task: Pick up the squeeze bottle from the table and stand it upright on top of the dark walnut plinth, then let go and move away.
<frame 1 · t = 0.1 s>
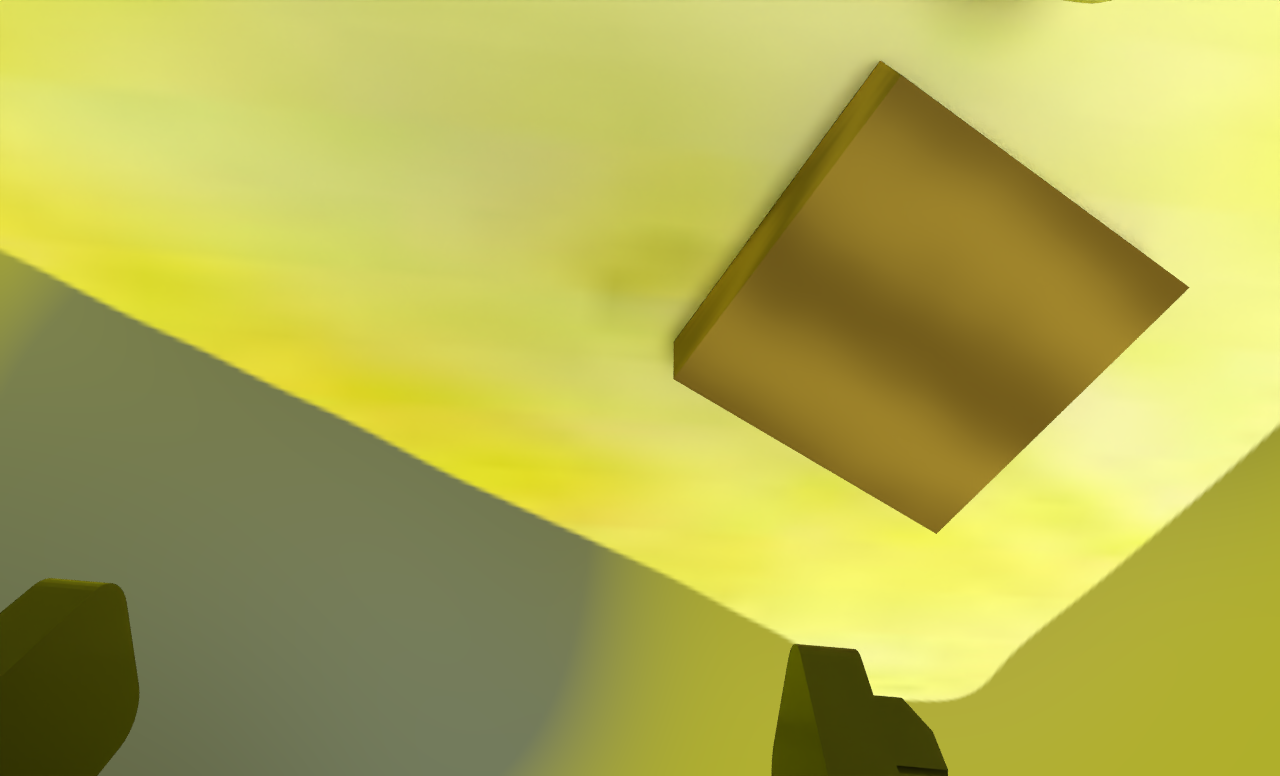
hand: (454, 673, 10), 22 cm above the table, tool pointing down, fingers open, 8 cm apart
walnut plinth: (901, 300, 32), on the table
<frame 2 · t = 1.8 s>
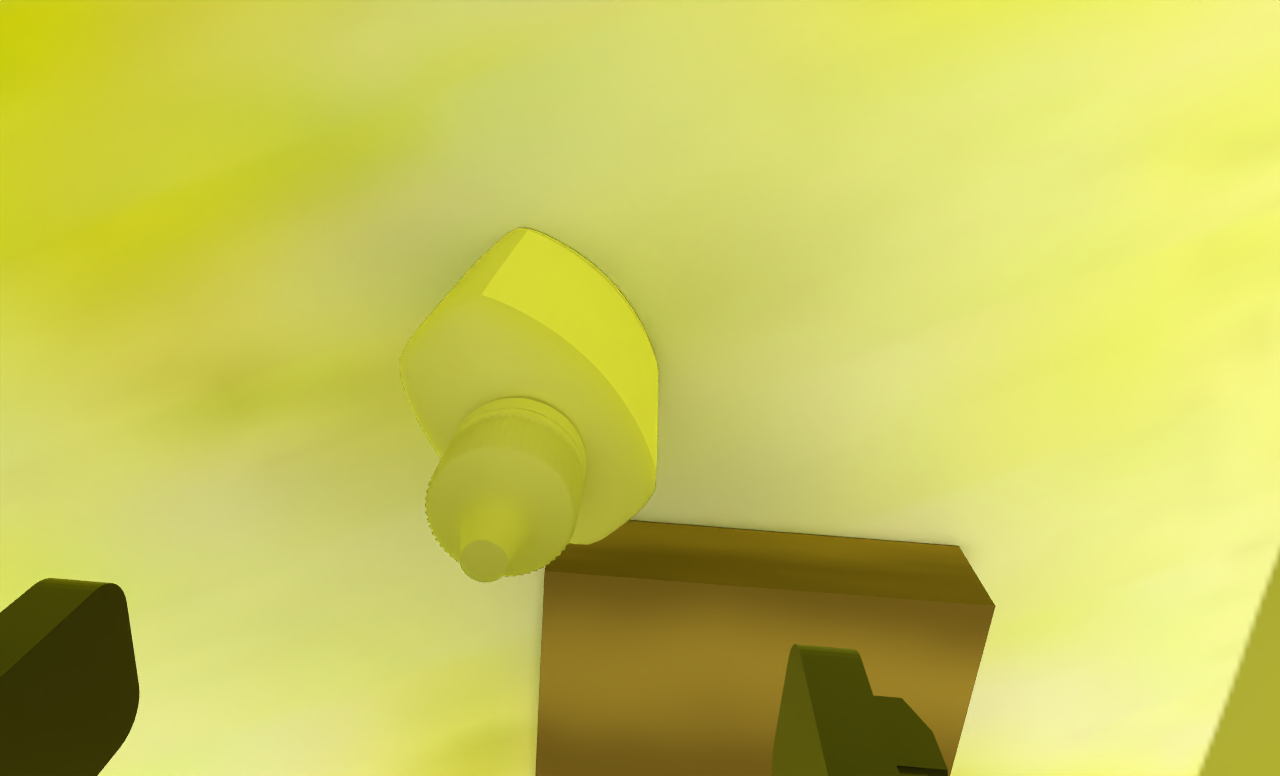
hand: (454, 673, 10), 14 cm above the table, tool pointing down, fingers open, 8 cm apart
walnut plinth: (734, 692, 28), on the table
squeeze bottle: (567, 318, 24), on the table
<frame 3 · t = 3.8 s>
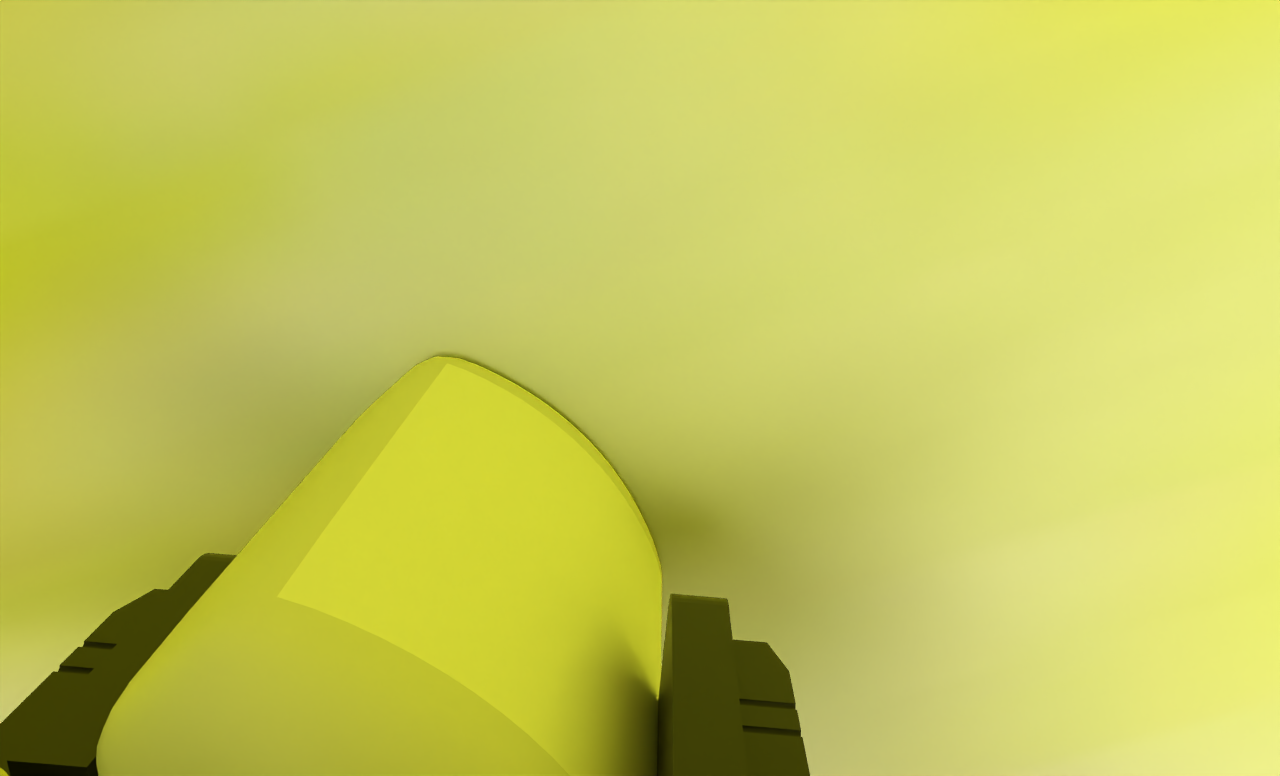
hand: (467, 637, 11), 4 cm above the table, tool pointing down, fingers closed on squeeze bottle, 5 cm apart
squeeze bottle: (518, 489, 15), on the table, touching gripper
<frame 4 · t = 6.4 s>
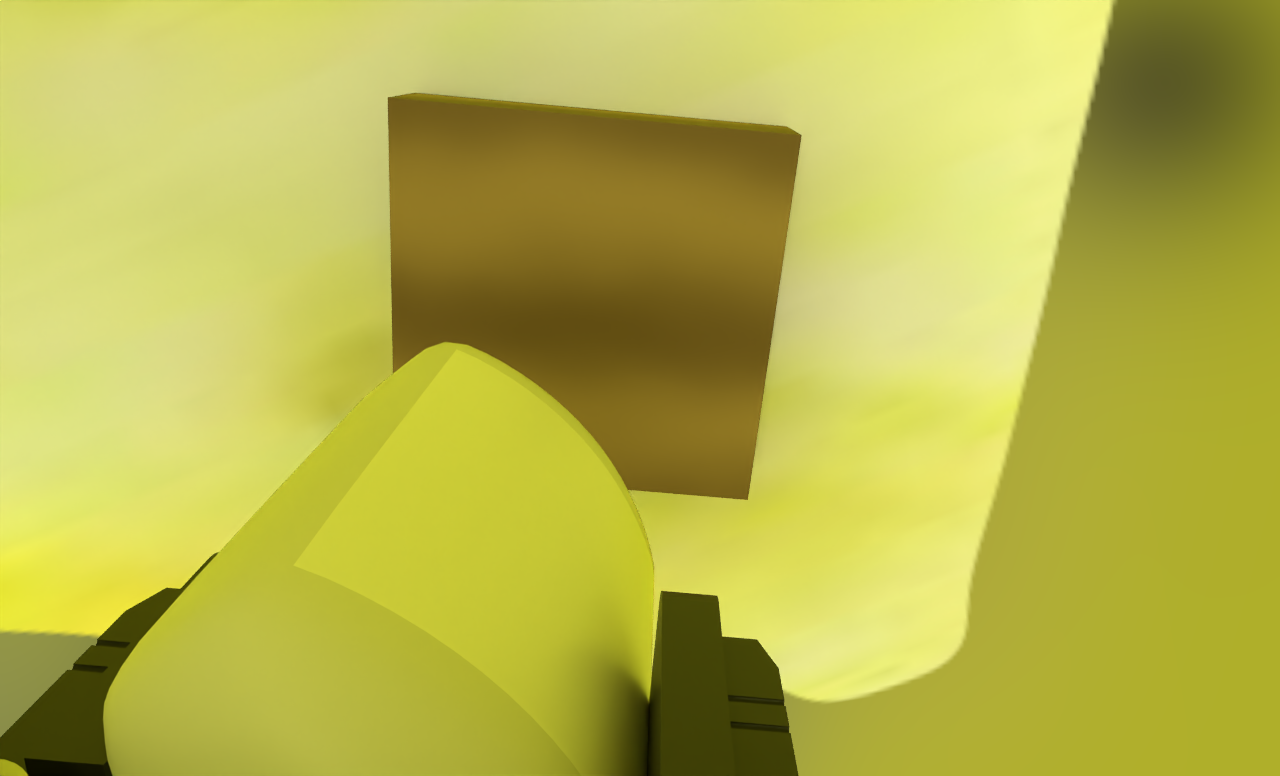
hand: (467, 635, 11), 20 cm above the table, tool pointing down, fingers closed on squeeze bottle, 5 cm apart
walnut plinth: (589, 290, 30), on the table
squeeze bottle: (516, 479, 15), point 16 cm above the table, touching gripper
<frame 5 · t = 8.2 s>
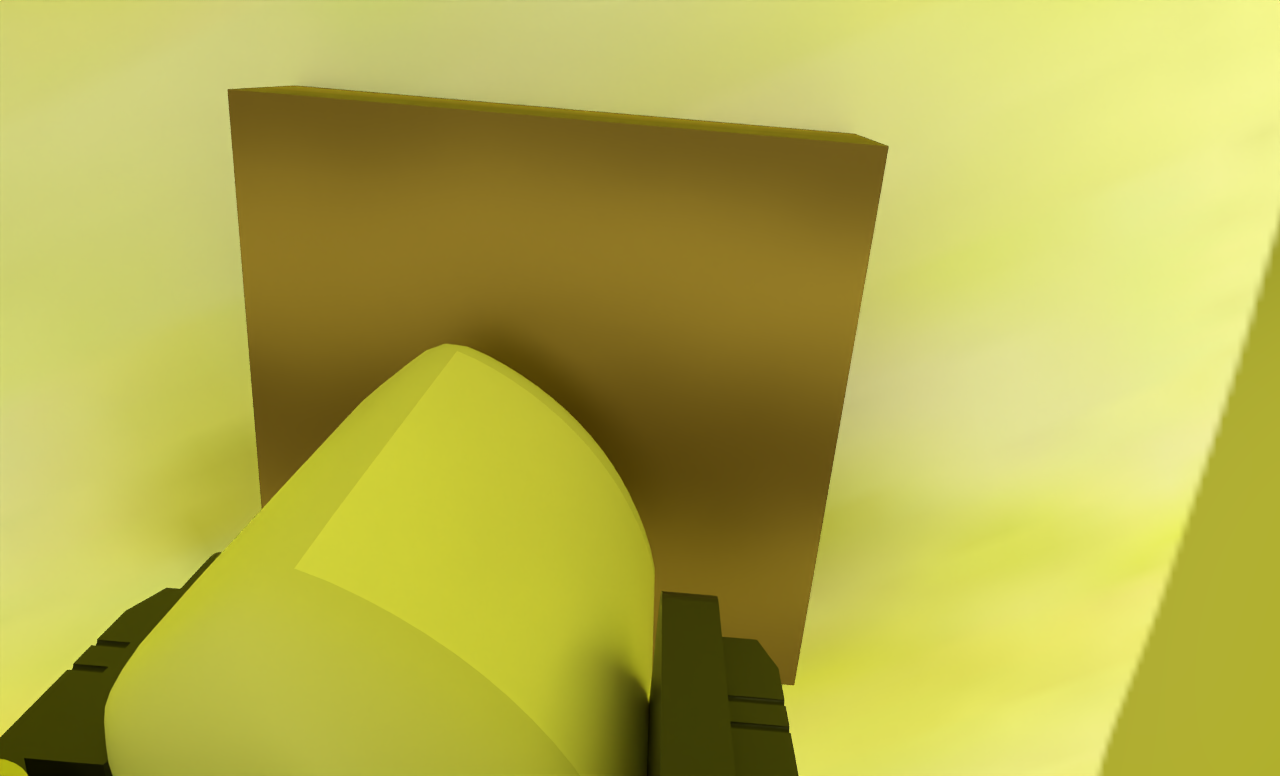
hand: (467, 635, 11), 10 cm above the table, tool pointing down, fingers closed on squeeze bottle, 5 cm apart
walnut plinth: (560, 373, 21), on the table
squeeze bottle: (517, 481, 15), point 6 cm above the table, touching gripper
when the fingers open (8 cm above the table, at t = 9.4 s): squeeze bottle drops 1 cm, resting on walnut plinth.
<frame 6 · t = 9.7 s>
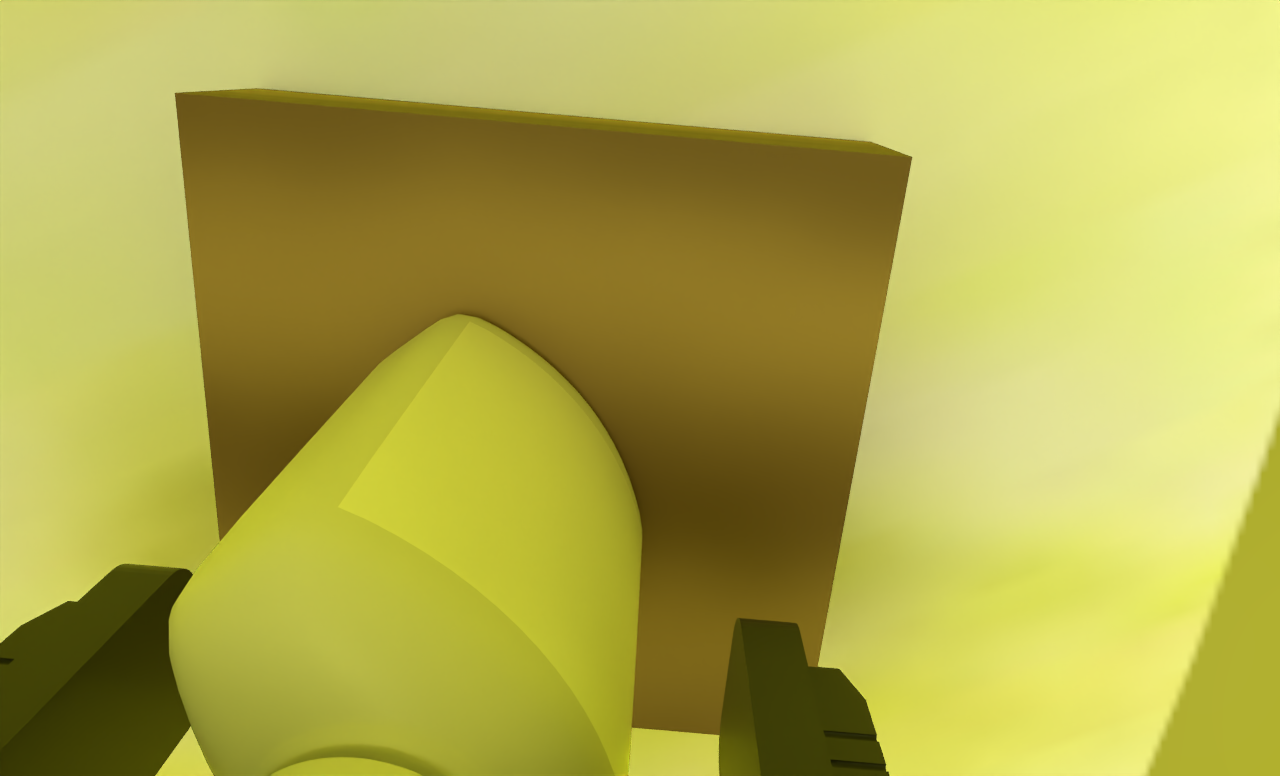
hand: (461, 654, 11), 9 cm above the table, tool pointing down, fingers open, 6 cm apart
walnut plinth: (550, 401, 19), on the table
squeeze bottle: (518, 444, 16), point 3 cm above the table, touching walnut plinth
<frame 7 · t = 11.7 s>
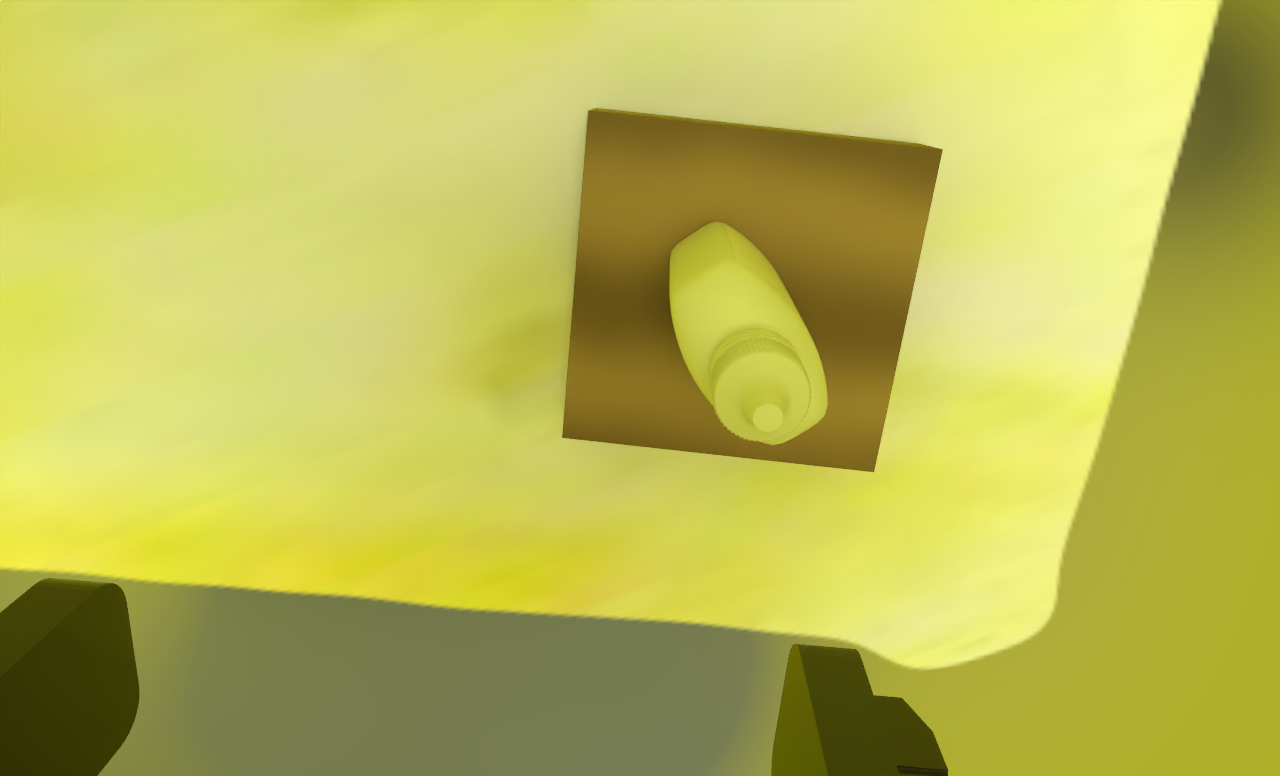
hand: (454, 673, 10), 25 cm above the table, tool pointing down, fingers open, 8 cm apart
walnut plinth: (734, 284, 34), on the table
squeeze bottle: (733, 295, 31), point 3 cm above the table, touching walnut plinth
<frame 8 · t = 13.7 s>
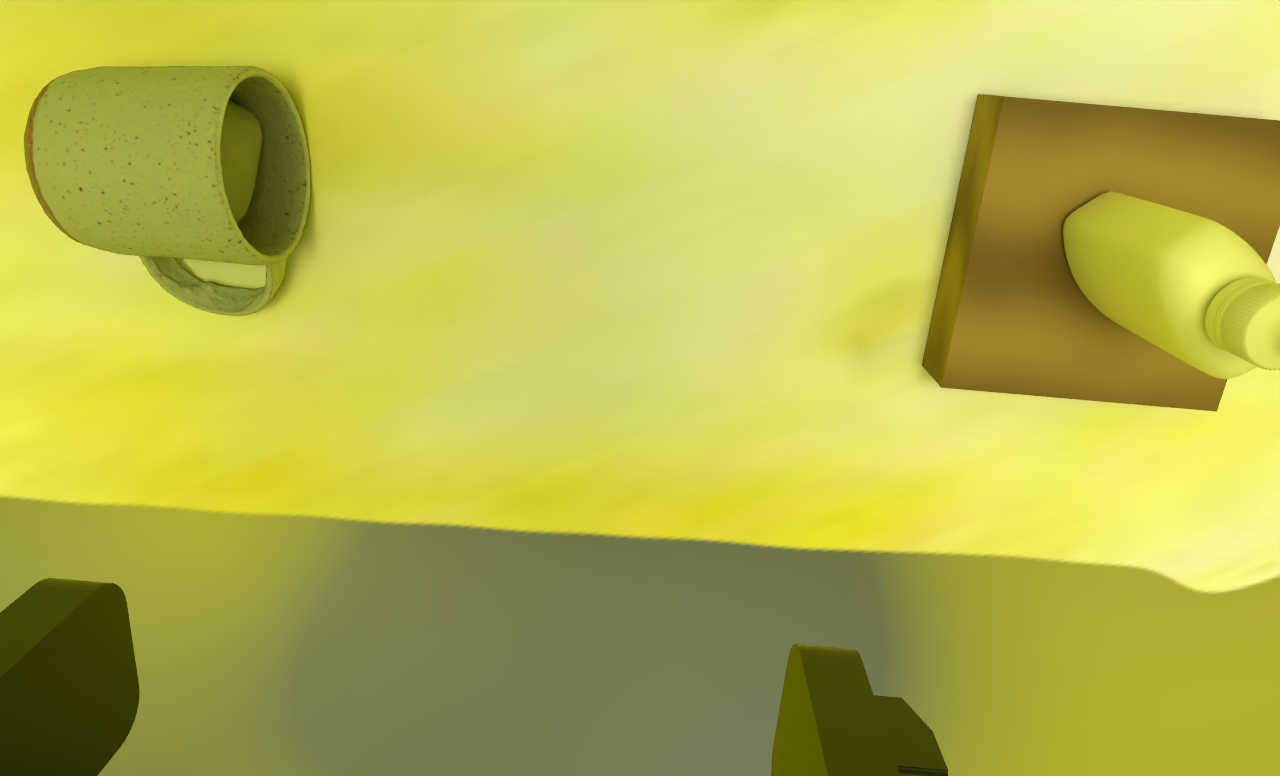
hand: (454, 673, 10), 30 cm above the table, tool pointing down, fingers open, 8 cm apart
walnut plinth: (1083, 248, 38), on the table
ceramic mug: (234, 186, 39), on the table
squeeze bottle: (1109, 256, 36), point 3 cm above the table, touching walnut plinth
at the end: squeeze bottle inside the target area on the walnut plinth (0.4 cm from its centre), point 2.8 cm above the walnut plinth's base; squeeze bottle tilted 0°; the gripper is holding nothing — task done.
